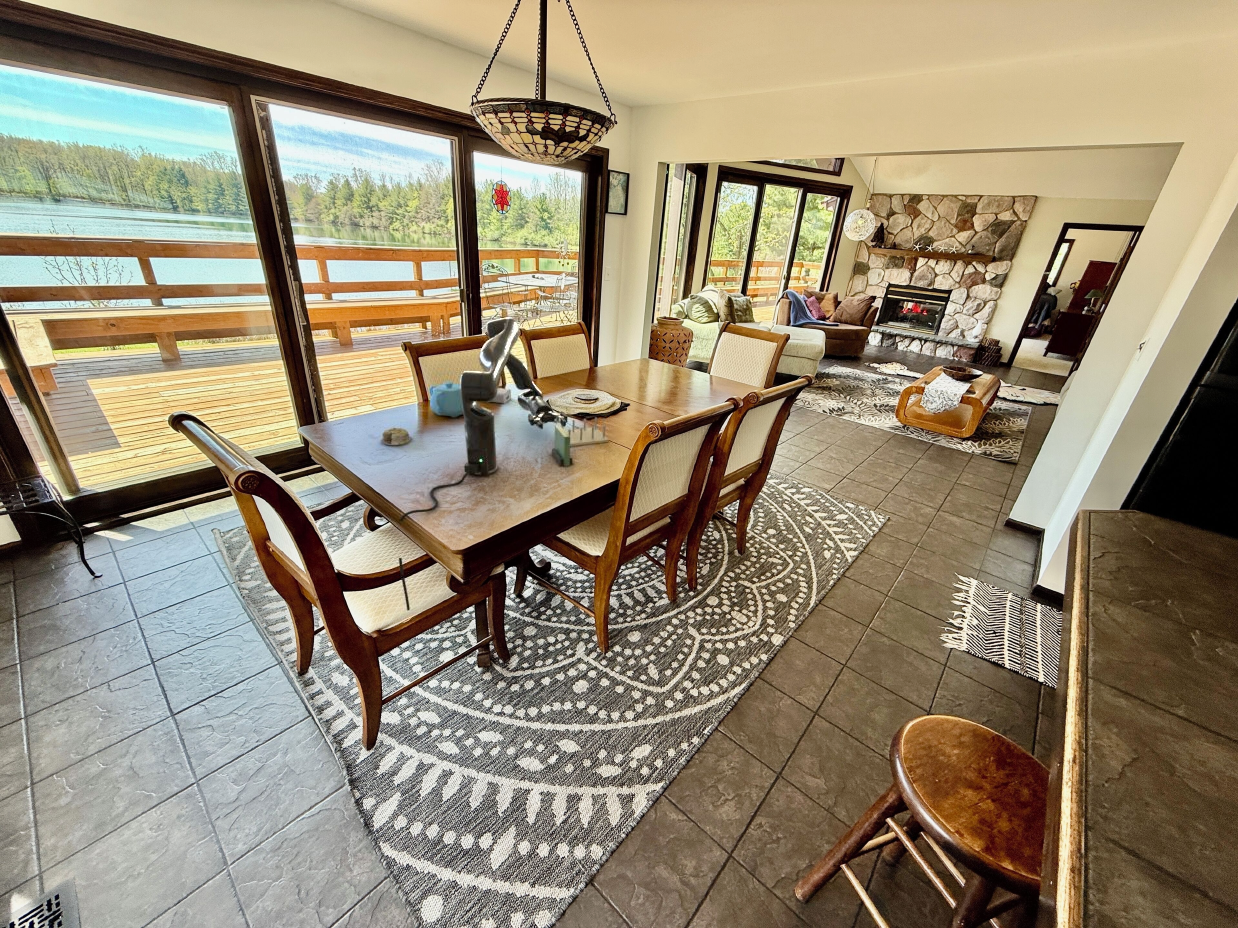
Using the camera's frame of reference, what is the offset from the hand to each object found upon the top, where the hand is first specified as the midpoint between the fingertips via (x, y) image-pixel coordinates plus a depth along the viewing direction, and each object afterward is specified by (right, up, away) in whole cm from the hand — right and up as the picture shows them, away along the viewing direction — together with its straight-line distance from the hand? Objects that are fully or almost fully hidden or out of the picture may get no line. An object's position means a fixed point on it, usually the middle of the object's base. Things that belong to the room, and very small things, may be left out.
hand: (553, 425), depth 176 cm
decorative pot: (-48, +8, +31) cm, 58 cm away
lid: (+4, -13, -4) cm, 14 cm away
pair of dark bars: (+4, -13, -4) cm, 14 cm away
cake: (-58, -6, +1) cm, 59 cm away
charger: (-36, +16, +50) cm, 64 cm away
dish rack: (+10, -4, +15) cm, 18 cm away
